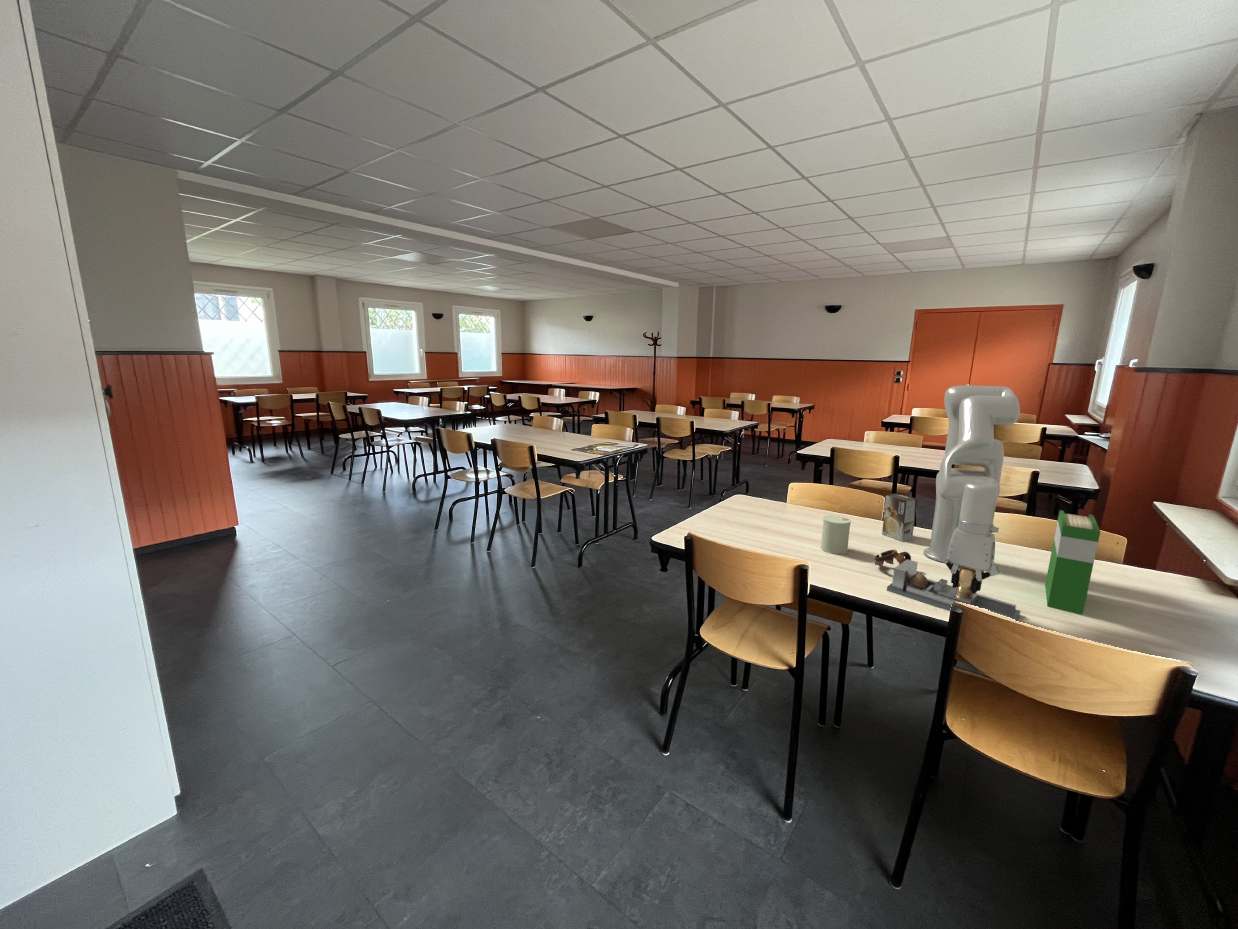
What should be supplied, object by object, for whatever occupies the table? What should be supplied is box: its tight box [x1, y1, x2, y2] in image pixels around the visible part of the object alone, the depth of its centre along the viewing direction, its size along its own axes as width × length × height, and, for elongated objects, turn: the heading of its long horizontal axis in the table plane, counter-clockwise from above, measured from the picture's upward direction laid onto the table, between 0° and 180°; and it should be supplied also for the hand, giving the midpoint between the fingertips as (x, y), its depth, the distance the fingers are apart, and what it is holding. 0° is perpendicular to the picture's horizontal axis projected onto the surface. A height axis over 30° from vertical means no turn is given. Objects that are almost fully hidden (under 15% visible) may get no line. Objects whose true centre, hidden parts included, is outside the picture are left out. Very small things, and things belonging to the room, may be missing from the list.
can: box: [820, 514, 852, 555], centre depth 183 cm, size 9×9×12 cm
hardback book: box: [1044, 509, 1101, 615], centre depth 145 cm, size 18×7×24 cm, turn 142°
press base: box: [886, 559, 1021, 621], centre depth 144 cm, size 12×30×7 cm, turn 41°
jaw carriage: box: [933, 566, 979, 605], centre depth 143 cm, size 7×9×10 cm
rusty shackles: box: [873, 549, 912, 568], centre depth 166 cm, size 12×10×8 cm
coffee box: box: [881, 493, 918, 542], centre depth 195 cm, size 9×6×16 cm
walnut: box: [911, 573, 928, 589], centre depth 150 cm, size 4×4×4 cm
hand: (965, 588), depth 142 cm, fingers closed on jaw carriage, 4 cm apart
